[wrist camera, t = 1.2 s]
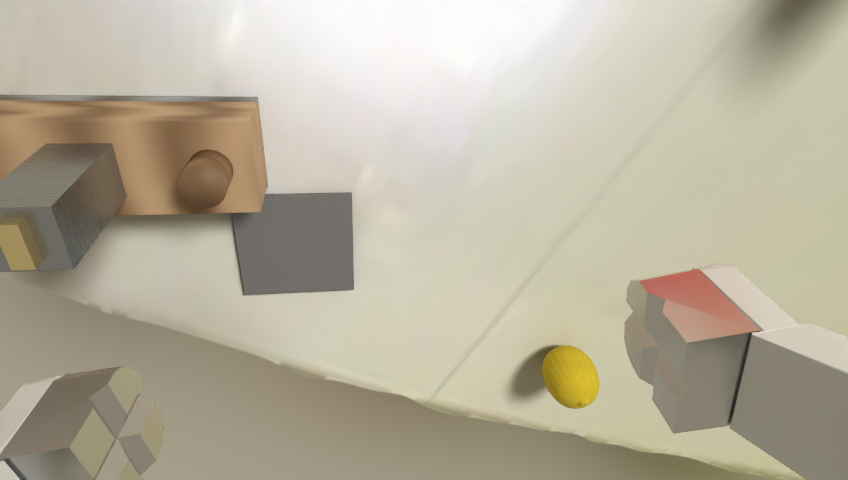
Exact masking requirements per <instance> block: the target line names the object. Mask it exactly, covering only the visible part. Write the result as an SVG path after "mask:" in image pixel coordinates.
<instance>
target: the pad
mask: <svg viewBox="0 0 848 480" xmlns="http://www.w3.org/2000/svg"><path fill="white" fill-rule="evenodd" d="M232 219H233V225H234V231H235V238H236V244H237V250H238V256H239V262H240V269H241V275H242V281H243V287H244V293H245V295H252V294H273V293H294V292H314V291H335V290H354V273H353V229H352V193H303V194H265V196H264V200H263V204H262V209H261V212H241V213H232Z"/></svg>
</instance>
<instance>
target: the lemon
mask: <svg viewBox="0 0 848 480" xmlns="http://www.w3.org/2000/svg"><path fill="white" fill-rule="evenodd" d="M542 376H543V380H544V382H545V385H546V387H547V389H548V391H549V392H550V394H551V395H552V396H553V397H554V398H555V399H556V400H557V401H558V402H559V403H560V404H562V405H564V406H566V407H569V408H575V409H576V408H583V407H586V406H588V405H589V404H591V403H592V402H593V401H594V399H595V398H596V396H597V394H598V391H599V379H598V374H597V371H596V369H595V367H594V365H593V363H592V361H591V360H590V358H589V357H588V356H587V355H586V354H585V353H584V352H582V351H581V350H580V349H578V348H575V347H573V346H559V347H556V348H554V349H552V350H551V351H550V352H549V353H548V354H547V355H546V357H545V359H544V361H543V365H542Z"/></svg>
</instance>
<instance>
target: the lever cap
mask: <svg viewBox="0 0 848 480" xmlns="http://www.w3.org/2000/svg"><path fill="white" fill-rule="evenodd" d="M126 197H127V196H126V192H125V189H124V185H123V181H122V178H121V174H120V170H119V167H118V163H117V160H116V156H115V152H114V149H113V145H112V143H46V144H45V145H44V146H42V147H41V148H40V149H39V150H37V151H36V152H35V153H34V154H32V155H31V156H30V157H29V158H27V159H26V160H25V161H24V162H22V163H21V164H20V165H19V166H17V167H16V168H15V169H14V170H12V171H11V172H10V173H9V174H7V175H6V176H5V177H4V178H2V179H1V180H0V272H17V271H43V270H68V269H74V268H75V267H76V266H77V264H78V263H79V262H80V260H81V259H82V257H83V256H84V255H85V253H86V252H87V251H88V249H89V248H90V246H91V245H92V244H93V242H94V241H95V240H96V238H97V237H98V235H99V234H100V233H101V231H102V230H103V229H104V227H105V226H106V224H107V223H108V222H109V220H110V219H111V218H112V216H113V215H114V213H115V212H116V211H117V209H118V208H119V207H120V205H121V204H122V202H123V201H124V200H125V198H126Z"/></svg>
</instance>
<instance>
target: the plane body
mask: <svg viewBox="0 0 848 480" xmlns="http://www.w3.org/2000/svg"><path fill="white" fill-rule="evenodd" d="M46 143H112V145H113V149H114V152H115V156H116V160H117V163H118V167H119V170H120V174H121V178H122V181H123V185H124V189H125V192H126V196H127V197H126V198H125V200H124V201H123V202H122V204H121V205H120V207H119V208H118V209H117V211H116V212H115V213H114V215H113V216H119V215H160V214H200V213H241V212H261V209H262V204H263V200H264V196H265V192H266V189H267V187H268V183H267V174H266V165H265V157H264V148H263V139H262V131H261V122H260V114H259V105H258V97H192V96H73V95H0V180H1V179H2V178H4V177H5V176H6V175H7V174H9V173H10V172H11V171H12V170H14V169H15V168H16V167H17V166H19V165H20V164H21V163H22V162H24V161H25V160H26V159H27V158H29V157H30V156H31V155H32V154H34V153H35V152H36V151H37V150H39V149H40V148H41V147H42V146H44V145H45V144H46Z"/></svg>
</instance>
